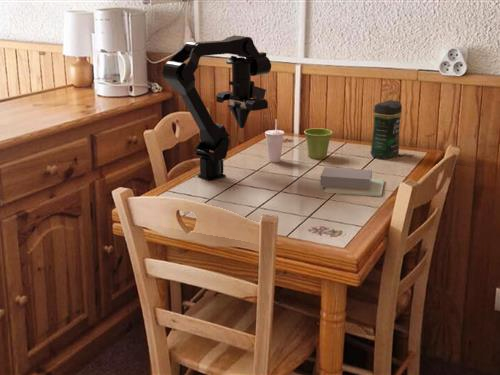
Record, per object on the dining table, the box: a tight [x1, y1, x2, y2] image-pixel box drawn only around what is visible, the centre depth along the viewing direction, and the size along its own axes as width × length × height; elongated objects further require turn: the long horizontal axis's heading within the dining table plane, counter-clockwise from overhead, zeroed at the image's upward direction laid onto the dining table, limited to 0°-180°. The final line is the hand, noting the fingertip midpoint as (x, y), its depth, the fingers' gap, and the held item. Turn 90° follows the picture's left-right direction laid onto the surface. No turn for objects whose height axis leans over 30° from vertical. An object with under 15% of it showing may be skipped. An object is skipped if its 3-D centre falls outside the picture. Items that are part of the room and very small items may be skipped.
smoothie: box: [264, 118, 285, 163], centre depth 221 cm, size 6×6×14 cm
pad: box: [323, 178, 385, 197], centre depth 198 cm, size 16×14×1 cm
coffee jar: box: [370, 99, 403, 160], centre depth 226 cm, size 10×8×19 cm
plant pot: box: [303, 127, 333, 160], centre depth 226 cm, size 9×9×9 cm
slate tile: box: [319, 166, 373, 190], centre depth 198 cm, size 3×9×14 cm
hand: (241, 127), depth 212 cm, fingers closed
